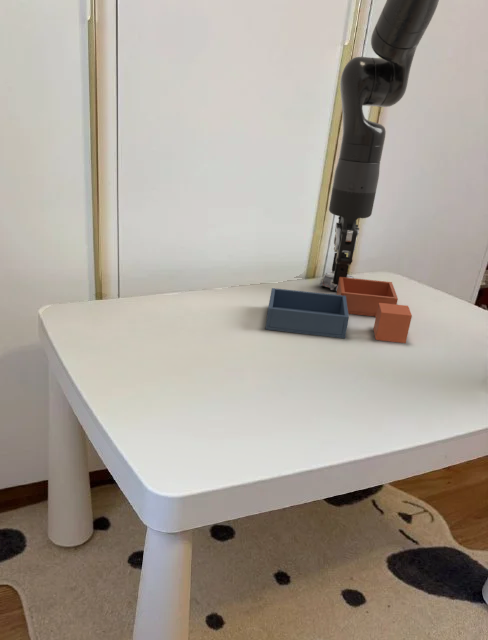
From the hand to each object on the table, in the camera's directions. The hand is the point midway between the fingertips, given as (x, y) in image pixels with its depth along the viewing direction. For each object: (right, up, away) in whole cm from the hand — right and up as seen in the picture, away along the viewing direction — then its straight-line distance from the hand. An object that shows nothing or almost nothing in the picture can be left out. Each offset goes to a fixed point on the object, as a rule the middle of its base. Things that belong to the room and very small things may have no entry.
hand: (338, 278), depth 119 cm
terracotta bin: (+3, -7, -8) cm, 11 cm away
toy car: (0, -2, +1) cm, 2 cm away
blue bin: (-9, -10, -17) cm, 22 cm away
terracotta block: (+3, -13, -20) cm, 24 cm away
